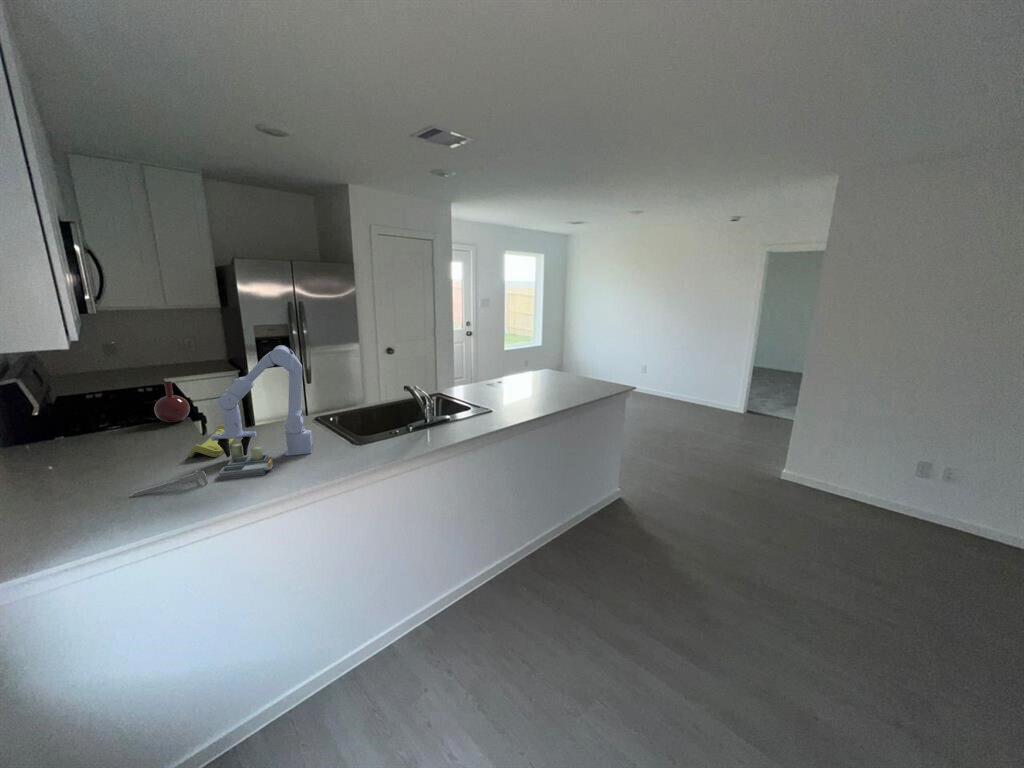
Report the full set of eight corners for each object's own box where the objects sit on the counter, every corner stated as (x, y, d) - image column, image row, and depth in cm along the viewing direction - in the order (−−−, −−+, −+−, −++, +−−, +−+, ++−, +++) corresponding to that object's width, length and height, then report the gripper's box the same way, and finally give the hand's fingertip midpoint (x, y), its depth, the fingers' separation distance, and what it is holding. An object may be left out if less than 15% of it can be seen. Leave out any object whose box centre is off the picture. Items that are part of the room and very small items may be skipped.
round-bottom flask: (181, 425, 190) (174, 385, 185) (150, 426, 187) (142, 385, 183) (197, 417, 202) (191, 378, 198) (168, 417, 200) (160, 379, 195)
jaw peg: (244, 456, 159) (242, 443, 158) (241, 460, 156) (239, 447, 155) (233, 457, 158) (231, 444, 157) (230, 461, 155) (228, 448, 154)
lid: (272, 465, 150) (272, 458, 149) (270, 469, 147) (270, 462, 146) (245, 468, 147) (244, 461, 146) (242, 472, 144) (241, 465, 143)
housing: (272, 459, 158) (270, 443, 156) (264, 474, 145) (262, 457, 144) (230, 463, 153) (228, 447, 151) (219, 479, 141) (216, 461, 139)
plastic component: (219, 452, 157) (191, 443, 154) (213, 467, 159) (186, 458, 156) (242, 431, 176) (218, 422, 173) (237, 445, 177) (213, 436, 174)
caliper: (208, 484, 138) (205, 467, 136) (207, 485, 137) (204, 468, 135) (130, 496, 129) (126, 478, 127) (129, 498, 128) (125, 480, 126)
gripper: (256, 418, 160) (260, 449, 163) (213, 421, 155) (218, 453, 158) (252, 423, 153) (256, 456, 156) (207, 427, 148) (212, 460, 152)
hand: (237, 455), depth 157 cm, fingers open, 5 cm apart
